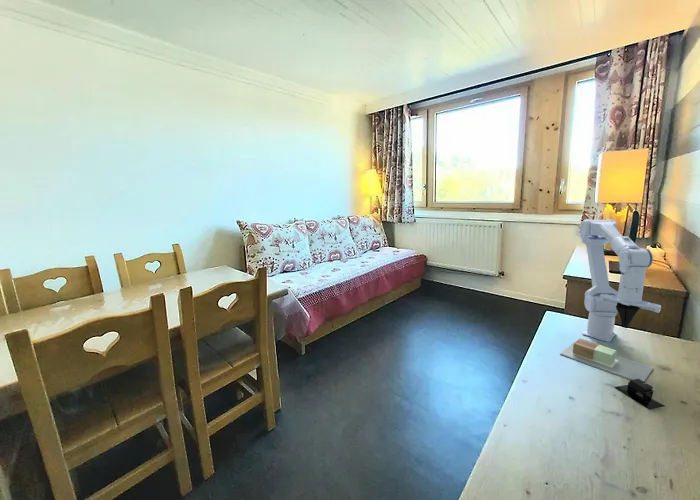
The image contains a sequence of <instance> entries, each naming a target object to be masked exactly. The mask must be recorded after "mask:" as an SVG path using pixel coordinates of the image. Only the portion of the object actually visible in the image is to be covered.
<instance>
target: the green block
mask: <svg viewBox="0 0 700 500" xmlns="http://www.w3.org/2000/svg"><path fill="white" fill-rule="evenodd" d="M615 356H617V350H616V349H613V348H611V347H607V346H604V345H601V344H599V345H598V346H597V347H596V348H595V349H594V353H593V360H595V361H598V362H601V363H604V364H607V365H611V364H612V363H613V362H614V361H615Z"/></svg>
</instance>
